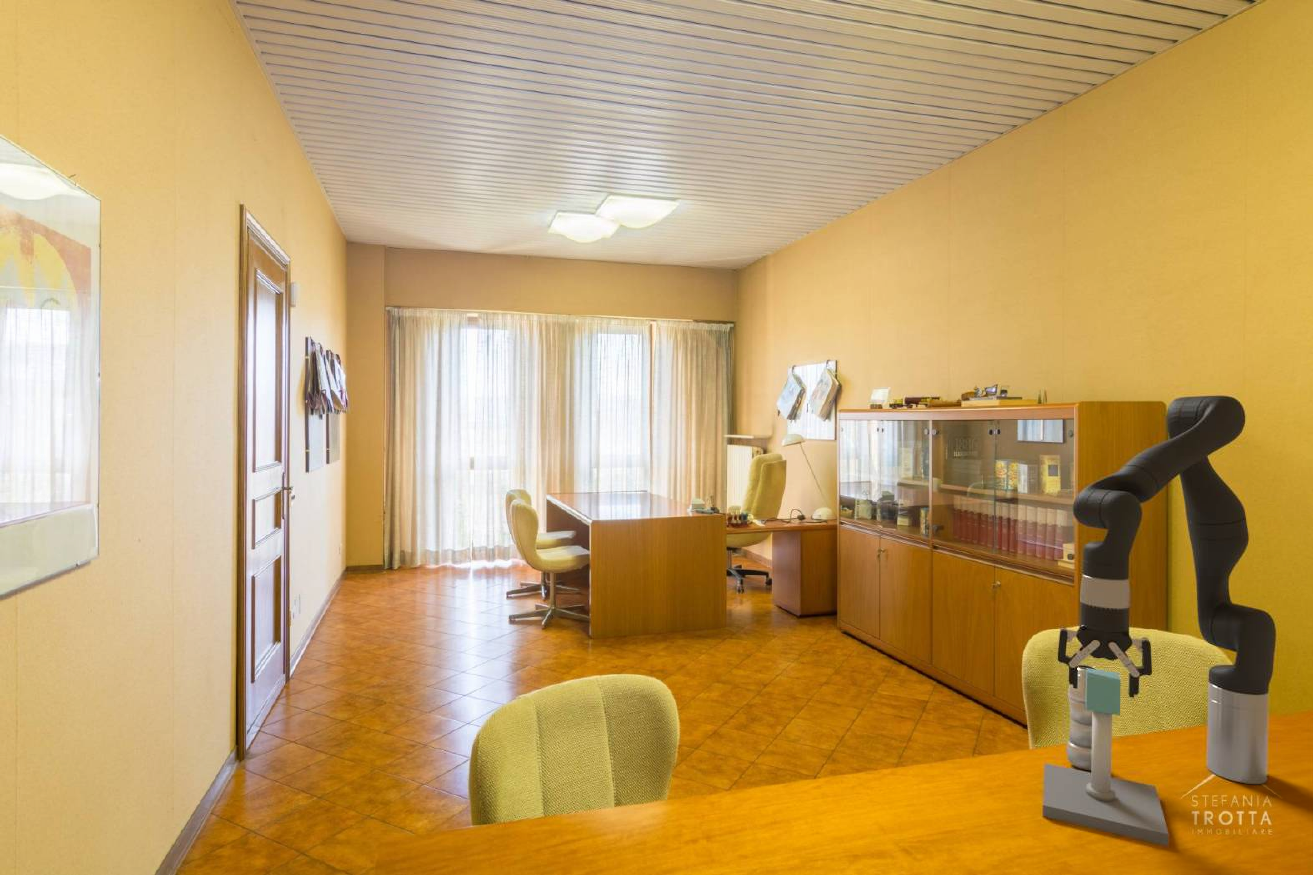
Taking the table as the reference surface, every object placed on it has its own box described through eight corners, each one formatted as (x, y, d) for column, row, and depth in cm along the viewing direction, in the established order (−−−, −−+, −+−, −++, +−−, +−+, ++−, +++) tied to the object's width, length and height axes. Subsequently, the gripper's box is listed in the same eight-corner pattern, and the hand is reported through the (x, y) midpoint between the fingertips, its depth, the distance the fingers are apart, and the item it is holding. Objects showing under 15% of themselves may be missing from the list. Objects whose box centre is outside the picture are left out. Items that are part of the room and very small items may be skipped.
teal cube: (1085, 700, 132) (1086, 667, 132) (1117, 705, 130) (1118, 672, 130) (1086, 709, 128) (1087, 676, 128) (1119, 715, 125) (1120, 681, 125)
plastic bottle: (1093, 760, 147) (1094, 662, 147) (1110, 776, 140) (1112, 674, 140) (1059, 758, 148) (1061, 661, 147) (1075, 774, 141) (1077, 672, 141)
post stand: (1044, 773, 141) (1045, 682, 141) (1155, 796, 133) (1157, 699, 132) (1042, 816, 126) (1044, 713, 125) (1168, 846, 117) (1170, 736, 116)
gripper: (1150, 602, 128) (1148, 692, 129) (1058, 592, 135) (1057, 678, 135) (1155, 611, 122) (1153, 706, 122) (1058, 600, 129) (1056, 690, 129)
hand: (1102, 691), depth 129 cm, fingers open, 8 cm apart
